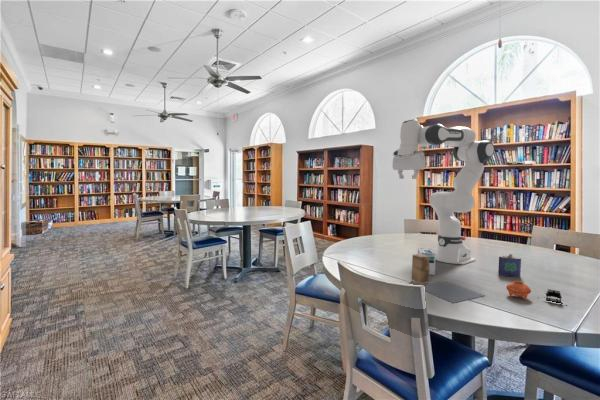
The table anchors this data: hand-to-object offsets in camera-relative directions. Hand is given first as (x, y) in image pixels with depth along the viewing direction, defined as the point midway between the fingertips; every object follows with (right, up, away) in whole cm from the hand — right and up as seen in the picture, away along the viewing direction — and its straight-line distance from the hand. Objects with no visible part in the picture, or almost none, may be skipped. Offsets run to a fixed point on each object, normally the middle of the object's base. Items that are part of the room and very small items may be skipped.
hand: (407, 178), depth 156 cm
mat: (+7, -49, -31) cm, 58 cm away
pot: (+31, -50, -36) cm, 69 cm away
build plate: (+41, -51, -40) cm, 77 cm away
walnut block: (-1, -48, -19) cm, 51 cm away
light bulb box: (+8, -47, -4) cm, 48 cm away
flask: (+46, -48, -10) cm, 67 cm away
